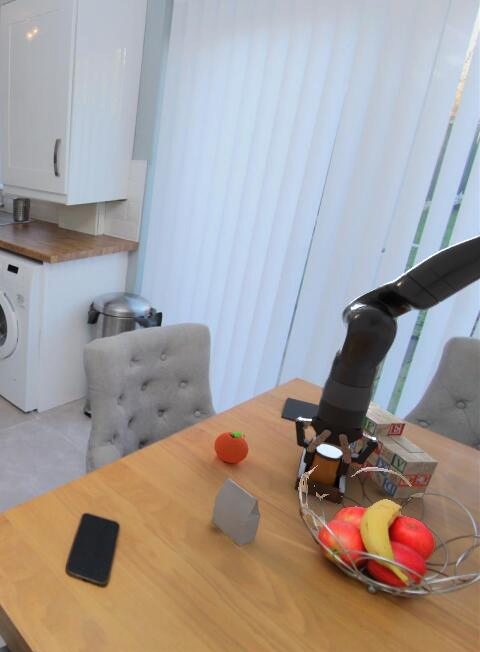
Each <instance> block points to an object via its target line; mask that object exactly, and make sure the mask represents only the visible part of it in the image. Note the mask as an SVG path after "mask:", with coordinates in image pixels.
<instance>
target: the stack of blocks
mask: <svg viewBox="0 0 480 652" xmlns="http://www.w3.org/2000/svg"><path fill="white" fill-rule="evenodd" d="M405 427H406V422H404V421H403V420H401V419H400V418H399V417H397V416H396V415H394V414H392V413H391V412H390V411H388V410H386V409H385V408H384V407H382V406H381V405H379V404H377V403H376V402H374V401H373V400H372V399H371V402H370V404H369V408H368V411H367V414H366V417H365V420H364V423H363V426H362V430H363V433H365V434H367V435H369V436H376V437H377V438H378V446H377V448H376V449H375V450H374V451H373V452H372V454H371V455H370V456H369V457H368V458H367V459H366V461H365V462H364V463H363V464H357V463H354V464H355V466H357V468H359V469H360V468H366V467H378V468H384V469H388V470H392V471H394V472H397V473H399V474H401V475H402V476H404V477H405V478H406V479H407V480H408V481H409V482H410V484H411V485H412V486H411V487H410V486H409V485H408V484H407V483H406V482H405V481H404V480H403V479H402V478H401V477H400V476H398V475H395V474H392V473H389V472H384V471H367V472H364V474H366V475H367V476H368V477H369V478H370V480H372V481H373V482H374V483H375V484H376V485H377V486H378V487H379V488H381V489H382V490H383V491H384V492H385V493H386V494H388V495H389V496H390V497H391V498H392V499H409V498H408V497H410V496H411V495H414V494H417V493H425V494H426V491H427V488H428V486H429V485H430V481H431V479H432V477H433V474H434V473H435V471H436V468H437V466H438V464H439V461H438V460H436V459H435V458H434V457H432V456H431V455H429V454H428V453H426V452H425V451H424V450H423V449H421V447H419V446H418V445H416V444H415V443H413V442H412V441H410V440H409V439H407V438H406V437H405V436H403V433H404V429H405ZM362 441H363V440H362V439H359V440H357V441H355V442H353V443H351V444H350V446H351V453H352V454H357V453H358V452H359V450H360V449H361V448H362V447H363V444H362ZM341 451H342V449H341ZM414 499H421V498H420V497H415V498H414Z"/></svg>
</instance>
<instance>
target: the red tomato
mask: <svg viewBox="0 0 480 652" xmlns="http://www.w3.org/2000/svg"><path fill="white" fill-rule="evenodd" d="M245 437H246V436H245V434H244V433H242V432H239V431H233V432H231V431H228V432H223V433H221V434H220V435H218V436H217V437H216V439H215V440H214V443H213V447H214V452H215V453H216V455H217V457H219V459H221V460H222V461H224V462H226V463H230V464H237V463H241V462H242V461H244V460H245V459H246V458H247V456H248V454H249V445H248V442H247V441H246V440H245Z"/></svg>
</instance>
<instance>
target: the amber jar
mask: <svg viewBox="0 0 480 652" xmlns="http://www.w3.org/2000/svg"><path fill="white" fill-rule="evenodd" d="M342 459H343V453H342V451H341V450H339V449H338V448H336V447H333V446H331V445H326V444H321V445H320V446H318V447H317V448H316V449H315V450H314V455H313V458H312V462H311V465H310V469H309V471H310V470H312V469H313V468H314V467H316V466H317V465H318V466H317V467H316V468H315V469H314V471H313V472H312V473H311V474H310V476H309V479H311V480H314V481H317V482H320V483H323V484H326V485H329V486H332V487H333V486H334V482H335V479H336V476H337V473H338V470H339V466H340V463H341V460H342Z"/></svg>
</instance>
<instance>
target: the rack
mask: <svg viewBox="0 0 480 652" xmlns="http://www.w3.org/2000/svg"><path fill="white" fill-rule="evenodd" d="M305 452H306V449H305V448H304V447H303V449H302V452H301V456H300V461H299V466H298V469H297V474H296V479H295V483H294V487H293V490H295V491H298V487H299V482H300V479H301V476H302V474H304V473H305V472H308V471H309V469H310V467H308V466H306V463H304V461H303V460H304V455H305ZM346 481H347V474H346V475H345V476H344V475H342V477H339V476H336V479H335V482H334V486H333V487H332V486H329V485H326V484H323V483H320V482H317V481H314V480H311V479H308V478H307V485H308V494H307V495H309V496H312V497H315V498H317V497H316V492H317V493H318V494H319V495H320V496H322V495H323V494H329V495H327V496H325V497H323V499H322V500H324V501H326V502H329V503H333V504H336V503H337V504H336V505H338V504H341V505H342V504H343V503H342V502H343V500H344V497H345V494H346ZM303 485H304V481H303ZM314 485H315V487H314ZM298 492H299V491H298ZM341 496H343V497H341Z"/></svg>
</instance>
